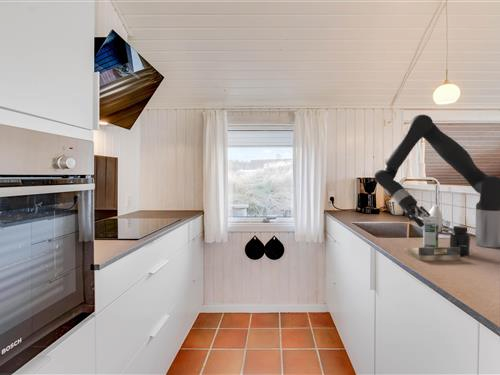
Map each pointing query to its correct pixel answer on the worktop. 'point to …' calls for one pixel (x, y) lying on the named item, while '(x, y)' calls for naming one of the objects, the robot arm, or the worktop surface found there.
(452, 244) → the supplement bottle
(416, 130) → the robot arm
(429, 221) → the syrup box
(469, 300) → the worktop surface
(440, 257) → the price shelf
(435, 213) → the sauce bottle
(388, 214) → the worktop surface
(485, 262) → the worktop surface
